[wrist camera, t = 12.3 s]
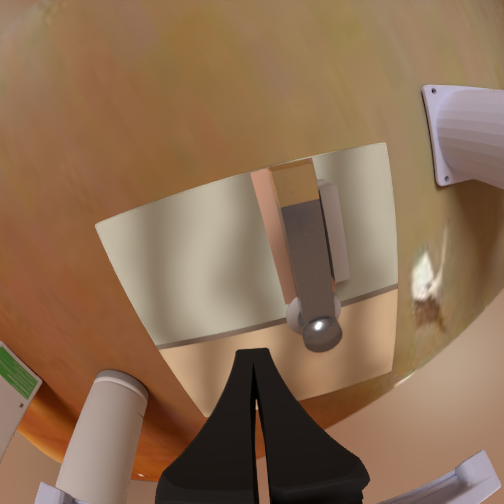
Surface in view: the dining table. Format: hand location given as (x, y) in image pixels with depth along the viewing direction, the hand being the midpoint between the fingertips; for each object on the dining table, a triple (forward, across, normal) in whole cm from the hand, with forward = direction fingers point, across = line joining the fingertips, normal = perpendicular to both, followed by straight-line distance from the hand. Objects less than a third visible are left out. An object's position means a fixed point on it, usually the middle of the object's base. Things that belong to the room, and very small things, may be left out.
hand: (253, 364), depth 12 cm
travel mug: (+10, +14, +14) cm, 22 cm away
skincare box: (+10, +33, +14) cm, 37 cm away
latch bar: (+8, -4, -1) cm, 9 cm away
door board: (+9, -2, +5) cm, 11 cm away
